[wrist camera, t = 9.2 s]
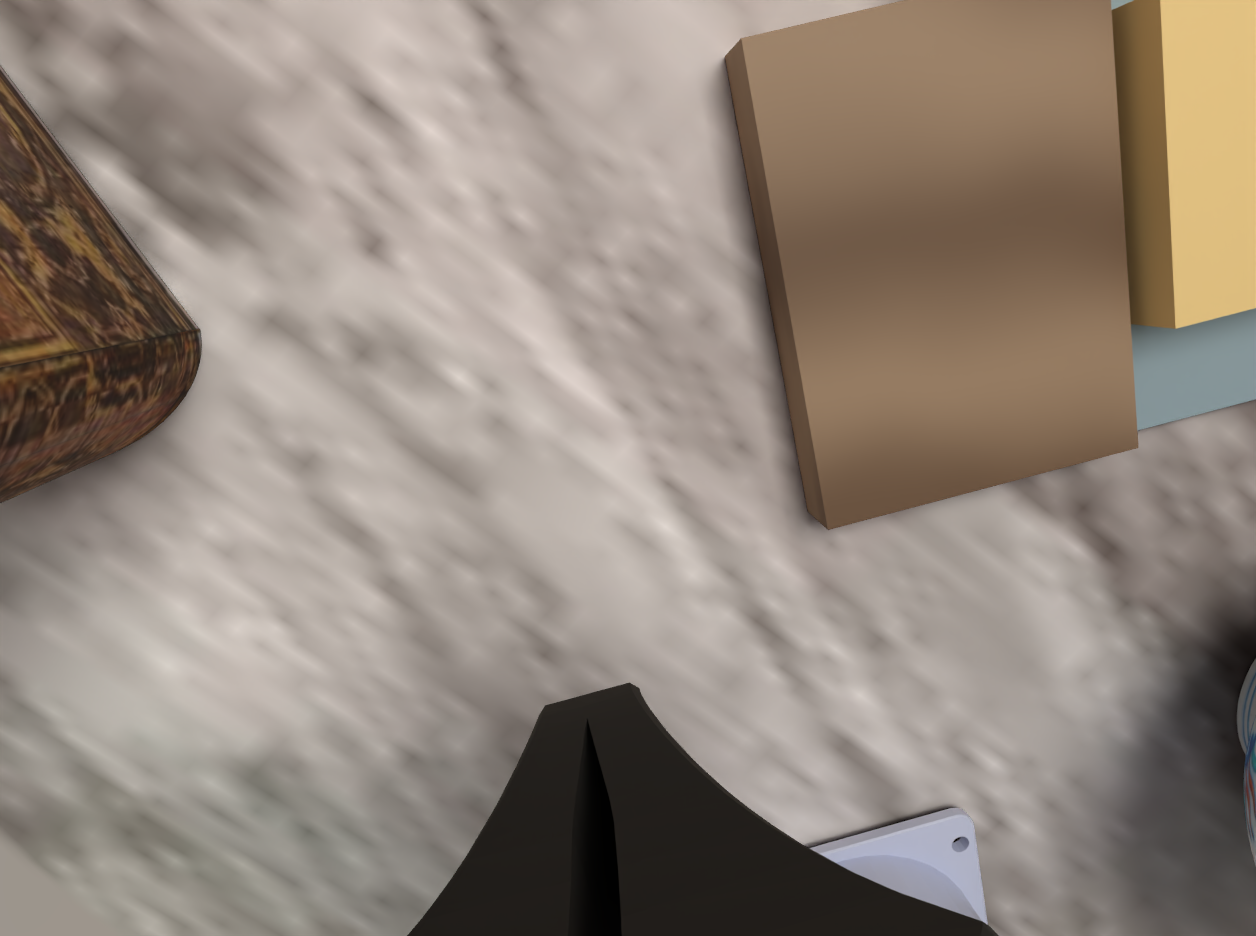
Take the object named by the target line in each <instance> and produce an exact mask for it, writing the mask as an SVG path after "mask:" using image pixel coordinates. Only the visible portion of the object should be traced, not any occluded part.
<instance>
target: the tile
mask: <svg viewBox="0 0 1256 936" xmlns="http://www.w3.org/2000/svg"><path fill="white" fill-rule="evenodd" d="M1112 26H1113V42H1114V58H1115V75H1116V91H1117V107H1118V123H1119V140H1120V156H1121V172H1122V189H1123V205H1124V221H1125V237H1126V254H1127V270H1128V286H1129V303H1130V319H1131V324H1134V325H1144V326H1153V327H1163V328H1173V329H1177V328H1181V327H1184V326H1188V325H1192V324H1196V323H1200V322H1204V321H1208V320H1212V319H1215V318H1219V317H1223V316H1227V315H1231V314H1235V313H1239V312H1242V311H1246V310H1250V309H1254V308H1256V0H1133V1H1131V2H1129V3H1127V4H1124V5H1122V6H1120V7H1118V8H1115V9H1113V10H1112Z"/></svg>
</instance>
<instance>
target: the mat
mask: <svg viewBox="0 0 1256 936" xmlns="http://www.w3.org/2000/svg"><path fill="white" fill-rule="evenodd" d="M1131 1H1133V0H1111V9H1112V10H1113V9H1115V8H1118V7H1120V6H1122V5H1124V4H1127V3H1129V2H1131ZM1131 335H1132V352H1133V368H1134V384H1135V400H1136V417H1137V430H1141V429H1145V428H1149V427H1152V426H1156V425H1160V424H1164V423H1168V422H1171V421H1175V420H1179V419H1183V418H1187V417H1190V416H1194V415H1198V414H1202V413H1206V412H1209V411H1213V410H1217V409H1221V408H1225V407H1228V406H1232V405H1236V404H1240V403H1244V402H1247V401H1251V400H1255V399H1256V308H1254V309H1250V310H1246V311H1242V312H1239V313H1235V314H1231V315H1227V316H1223V317H1219V318H1215V319H1212V320H1208V321H1204V322H1200V323H1196V324H1192V325H1188V326H1184V327H1181V328H1177V329H1173V328H1163V327H1153V326H1144V325H1134V324H1131Z"/></svg>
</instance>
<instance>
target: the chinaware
mask: <svg viewBox="0 0 1256 936" xmlns="http://www.w3.org/2000/svg"><path fill="white" fill-rule="evenodd" d="M1237 729H1238V735H1239V739H1240V743H1241V746H1242V748H1243V751H1244V753H1245V755H1246V758H1245V768H1244V807H1245V818H1246V825H1247V831H1248V837H1249V842H1250V846H1251V851H1252V855H1253V859H1254V862H1255V866H1256V658H1255V660H1254V662H1253V663H1252V665H1251V667H1250V669H1249V671H1248V673H1247V675H1246V678H1245V680H1244V683H1243V686H1242V689H1241V692H1240V696H1239V701H1238V708H1237Z"/></svg>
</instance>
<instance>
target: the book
mask: <svg viewBox="0 0 1256 936" xmlns="http://www.w3.org/2000/svg"><path fill="white" fill-rule="evenodd" d="M200 356H201V333H200V329H199V328H198V327H197V326H196V324H195V323H194V322H193V320H192V319H191V318H190V316H189V315H188V314H187V312H186V311H185V310H184V308H183V307H182V306H181V305H180V303H179V302H178V301H177V299H176V298H175V297H174V295H173V294H172V293H171V291H170V290H169V289H168V287H167V286H166V285H165V283H164V282H163V281H162V279H161V278H160V277H159V275H158V274H157V273H156V271H155V270H154V269H153V267H152V266H151V265H150V263H149V262H148V261H147V259H146V258H145V257H144V255H143V254H142V253H141V251H140V250H139V249H138V247H137V246H136V245H135V243H134V242H133V241H132V240H131V238H130V237H129V236H128V234H127V233H126V232H125V230H124V229H123V228H122V226H121V225H120V224H119V222H118V221H117V220H116V218H115V217H114V216H113V214H112V213H111V212H110V210H109V209H108V208H107V206H106V205H105V204H104V202H103V201H102V200H101V198H100V197H99V196H98V194H97V193H96V192H95V190H94V189H93V188H92V186H91V185H90V184H89V182H88V181H87V180H86V178H85V177H84V176H83V175H82V173H81V172H80V171H79V169H78V168H77V167H76V165H75V164H74V163H73V161H72V160H71V159H70V157H69V156H68V155H67V153H66V152H65V151H64V149H63V148H62V147H61V145H60V144H59V143H58V141H57V140H56V139H55V137H54V136H53V135H52V133H51V132H50V131H49V129H48V128H47V127H46V125H45V124H44V123H43V121H42V120H41V119H40V117H39V116H38V115H37V114H36V112H35V111H34V110H33V108H32V107H31V106H30V104H29V103H28V102H27V100H26V99H25V98H24V96H23V95H22V94H21V92H20V91H19V90H18V88H17V87H16V86H15V84H14V83H13V82H12V80H11V79H10V78H9V76H8V75H7V74H6V72H5V71H4V70H3V68H2V67H1V66H0V503H2V502H4V501H6V500H9V499H11V498H13V497H15V496H18V495H20V494H22V493H24V492H27V491H29V490H31V489H33V488H35V487H38V486H40V485H42V484H44V483H47V482H49V481H51V480H53V479H56V478H58V477H60V476H62V475H65V474H67V473H69V472H71V471H74V470H76V469H78V468H80V467H82V466H85V465H87V464H89V463H91V462H94V461H96V460H98V459H100V458H103V457H105V456H107V455H109V454H112V453H114V452H116V451H118V450H121V449H122V448H124V447H126V446H128V445H130V444H131V443H133V442H135V441H137V440H139V439H140V438H142V437H143V436H145V435H146V434H148V433H149V432H150V431H152V430H153V429H154V428H156V427H157V426H158V425H159V424H160V423H162V422H163V421H164V420H165V419H166V418H167V417H168V416H169V415H170V414H171V413H172V412H173V411H174V410H175V409H176V408H177V406H178V405H179V404H180V402H181V401H182V400H183V398H184V397H185V396H186V394H187V392H188V390H189V389H190V387H191V385H192V383H193V381H194V378H195V376H196V373H197V370H198V366H199V362H200Z"/></svg>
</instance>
